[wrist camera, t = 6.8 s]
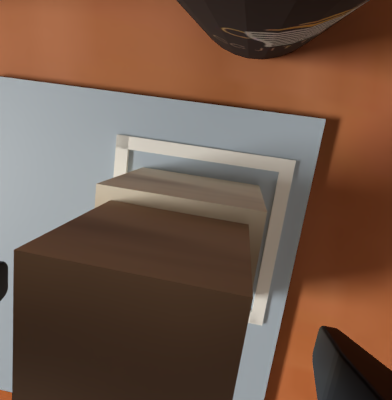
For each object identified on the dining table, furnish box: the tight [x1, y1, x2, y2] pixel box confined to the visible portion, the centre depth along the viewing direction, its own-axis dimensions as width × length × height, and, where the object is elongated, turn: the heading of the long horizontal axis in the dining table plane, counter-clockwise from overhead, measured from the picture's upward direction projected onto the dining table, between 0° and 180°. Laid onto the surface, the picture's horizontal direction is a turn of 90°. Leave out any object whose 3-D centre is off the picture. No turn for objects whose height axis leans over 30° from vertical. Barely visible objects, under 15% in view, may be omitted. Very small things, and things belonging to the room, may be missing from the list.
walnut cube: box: [12, 200, 253, 400], centre depth 8 cm, size 4×4×4 cm
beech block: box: [95, 167, 267, 289], centre depth 13 cm, size 6×6×5 cm
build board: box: [0, 77, 326, 400], centre depth 17 cm, size 18×16×1 cm
